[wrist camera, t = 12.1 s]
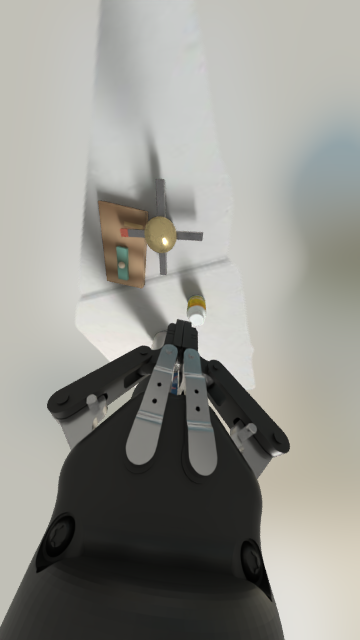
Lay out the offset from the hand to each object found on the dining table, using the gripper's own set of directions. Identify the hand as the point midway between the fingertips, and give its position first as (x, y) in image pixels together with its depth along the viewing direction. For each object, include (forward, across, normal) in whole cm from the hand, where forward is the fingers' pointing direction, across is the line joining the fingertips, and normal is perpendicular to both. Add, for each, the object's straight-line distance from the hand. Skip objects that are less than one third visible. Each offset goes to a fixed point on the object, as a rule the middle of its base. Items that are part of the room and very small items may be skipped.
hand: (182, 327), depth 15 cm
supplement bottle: (+29, -5, +13) cm, 32 cm away
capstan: (+29, +7, -4) cm, 30 cm away
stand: (+29, +16, +2) cm, 33 cm away
